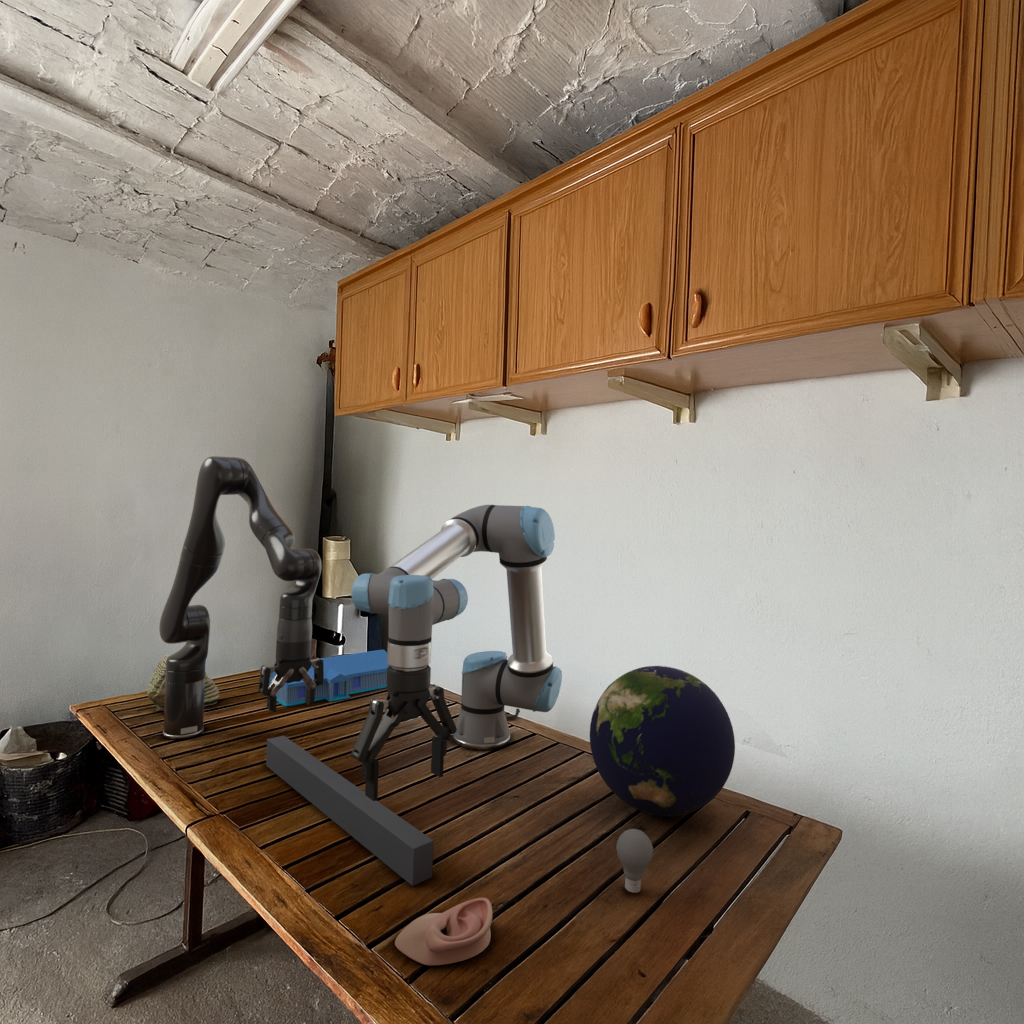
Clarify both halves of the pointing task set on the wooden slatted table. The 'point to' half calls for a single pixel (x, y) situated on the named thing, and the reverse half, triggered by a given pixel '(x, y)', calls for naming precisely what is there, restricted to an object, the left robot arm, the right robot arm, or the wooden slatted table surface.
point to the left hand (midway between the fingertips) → (290, 707)
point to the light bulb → (634, 857)
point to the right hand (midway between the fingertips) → (405, 785)
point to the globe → (662, 740)
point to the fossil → (158, 687)
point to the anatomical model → (448, 934)
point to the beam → (353, 811)
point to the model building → (340, 678)
